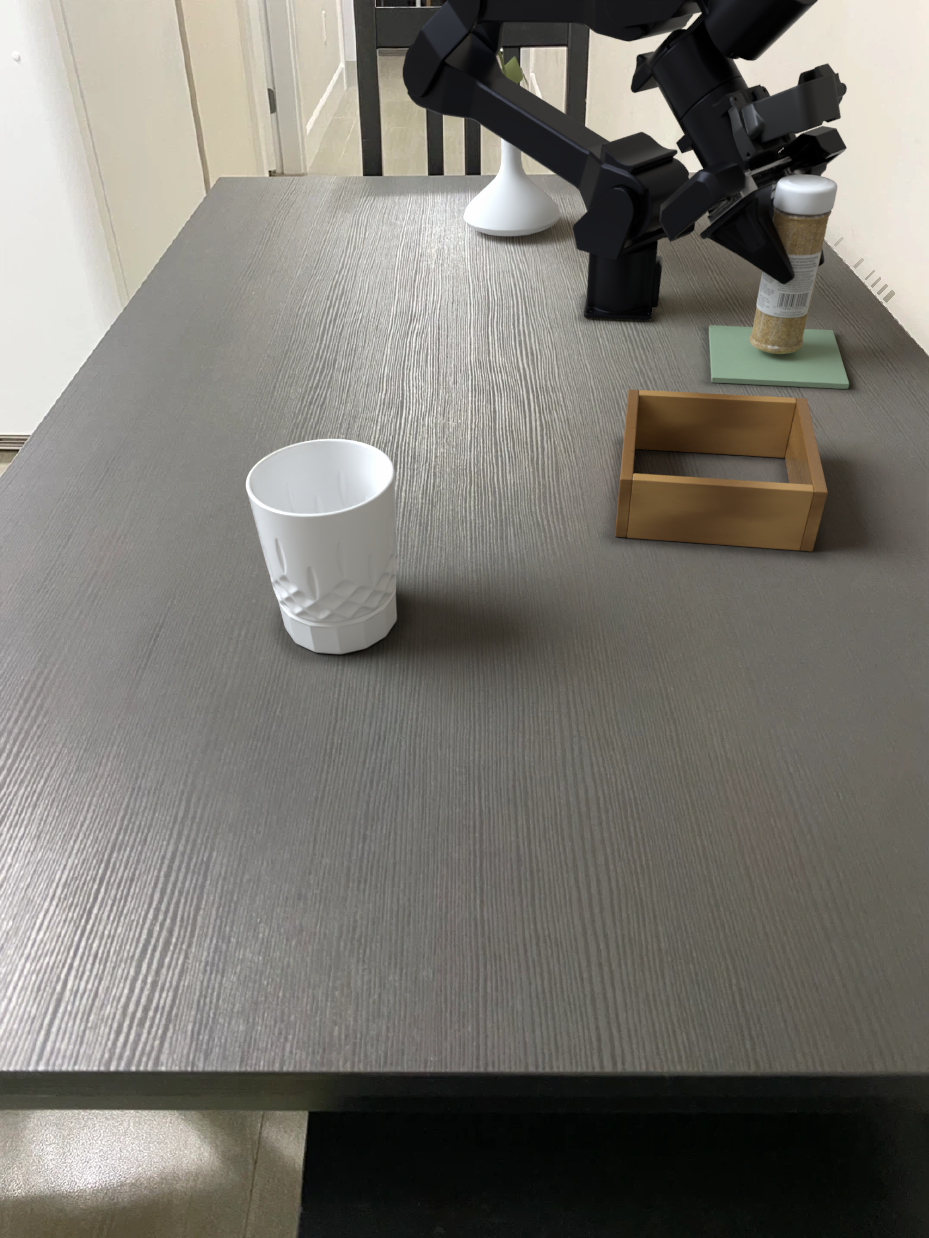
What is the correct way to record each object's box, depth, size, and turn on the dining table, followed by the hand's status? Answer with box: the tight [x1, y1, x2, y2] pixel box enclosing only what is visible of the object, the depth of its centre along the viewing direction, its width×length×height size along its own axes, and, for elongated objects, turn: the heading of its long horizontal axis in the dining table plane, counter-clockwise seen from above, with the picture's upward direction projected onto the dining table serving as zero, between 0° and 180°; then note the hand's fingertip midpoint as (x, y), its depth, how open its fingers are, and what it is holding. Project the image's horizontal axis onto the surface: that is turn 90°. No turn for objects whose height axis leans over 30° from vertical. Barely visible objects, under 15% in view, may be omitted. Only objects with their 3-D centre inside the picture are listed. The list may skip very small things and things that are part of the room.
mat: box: [708, 324, 850, 390], centre depth 82 cm, size 11×11×1 cm
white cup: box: [245, 438, 399, 655], centre depth 53 cm, size 8×8×10 cm
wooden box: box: [614, 389, 829, 552], centre depth 64 cm, size 13×13×4 cm
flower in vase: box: [462, 50, 562, 237], centre depth 102 cm, size 13×11×25 cm
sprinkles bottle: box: [750, 175, 838, 354], centre depth 77 cm, size 5×5×14 cm
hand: (804, 274), depth 77 cm, fingers closed on sprinkles bottle, 4 cm apart
